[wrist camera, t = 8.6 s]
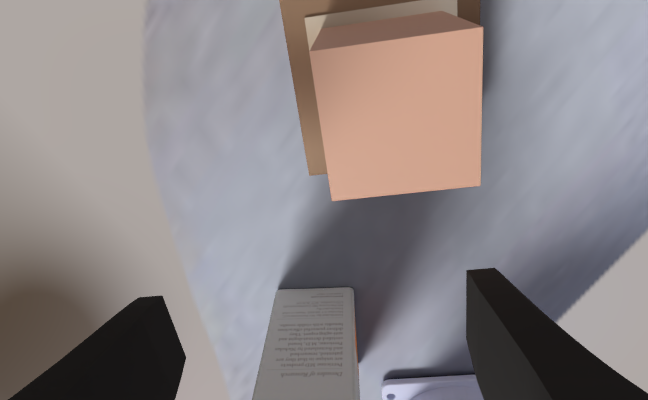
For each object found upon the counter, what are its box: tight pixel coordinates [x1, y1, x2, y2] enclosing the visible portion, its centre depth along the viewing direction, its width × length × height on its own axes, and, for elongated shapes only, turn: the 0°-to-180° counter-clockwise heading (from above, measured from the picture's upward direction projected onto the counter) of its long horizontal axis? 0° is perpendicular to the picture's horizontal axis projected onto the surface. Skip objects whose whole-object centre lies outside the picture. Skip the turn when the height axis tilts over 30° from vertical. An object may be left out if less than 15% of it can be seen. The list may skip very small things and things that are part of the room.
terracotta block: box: [309, 11, 483, 201], centre depth 13 cm, size 4×4×5 cm
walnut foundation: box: [279, 0, 480, 176], centre depth 17 cm, size 6×6×3 cm
